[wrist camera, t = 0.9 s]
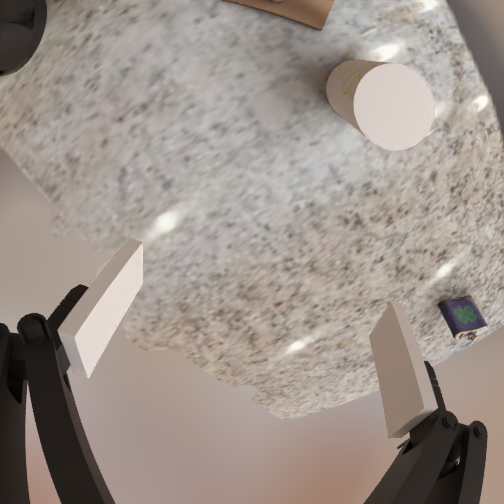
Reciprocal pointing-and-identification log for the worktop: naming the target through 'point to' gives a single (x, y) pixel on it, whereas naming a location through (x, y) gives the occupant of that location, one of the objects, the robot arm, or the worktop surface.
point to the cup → (382, 102)
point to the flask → (463, 318)
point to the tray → (294, 9)
